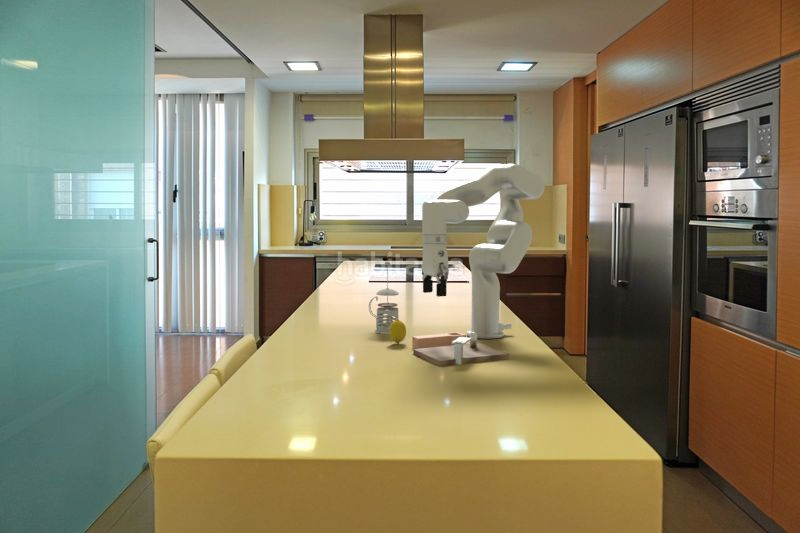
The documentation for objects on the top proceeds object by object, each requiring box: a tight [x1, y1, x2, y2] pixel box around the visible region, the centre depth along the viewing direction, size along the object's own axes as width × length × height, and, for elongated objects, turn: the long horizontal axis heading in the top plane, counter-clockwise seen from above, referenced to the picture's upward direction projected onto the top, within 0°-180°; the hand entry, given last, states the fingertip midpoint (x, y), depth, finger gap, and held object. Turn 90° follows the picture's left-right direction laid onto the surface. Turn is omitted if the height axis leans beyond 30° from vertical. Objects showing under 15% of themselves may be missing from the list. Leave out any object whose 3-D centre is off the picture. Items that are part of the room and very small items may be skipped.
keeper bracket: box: [452, 336, 471, 366], centre depth 197 cm, size 8×4×6 cm, turn 159°
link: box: [411, 331, 467, 349], centre depth 218 cm, size 17×5×4 cm, turn 114°
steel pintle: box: [469, 332, 478, 348], centre depth 210 cm, size 2×2×4 cm
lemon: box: [388, 318, 407, 345], centre depth 222 cm, size 6×6×8 cm
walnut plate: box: [412, 342, 510, 367], centre depth 204 cm, size 23×17×2 cm
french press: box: [368, 261, 400, 335], centre depth 243 cm, size 10×12×25 cm
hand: (434, 294), depth 217 cm, fingers open, 9 cm apart
